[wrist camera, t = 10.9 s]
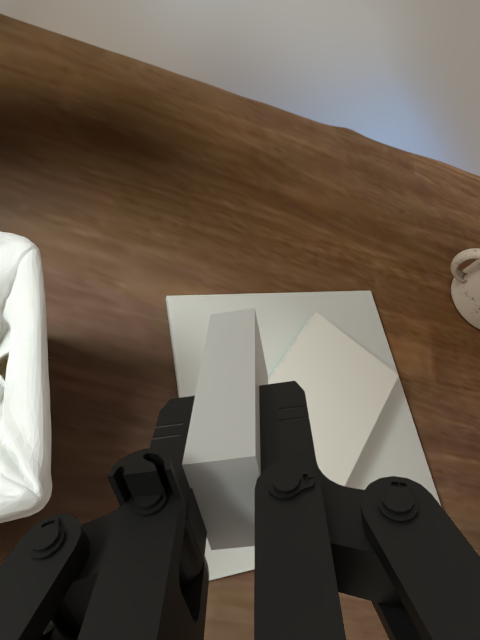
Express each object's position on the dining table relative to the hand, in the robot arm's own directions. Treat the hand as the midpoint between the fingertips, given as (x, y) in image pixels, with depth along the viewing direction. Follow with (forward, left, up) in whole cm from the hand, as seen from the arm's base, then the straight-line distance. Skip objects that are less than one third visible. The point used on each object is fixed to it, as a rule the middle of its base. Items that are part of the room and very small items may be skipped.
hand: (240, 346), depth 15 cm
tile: (+3, +10, -23) cm, 25 cm away
